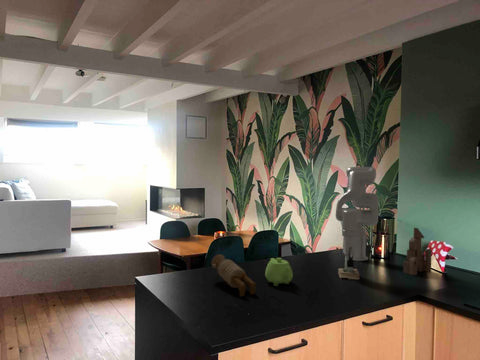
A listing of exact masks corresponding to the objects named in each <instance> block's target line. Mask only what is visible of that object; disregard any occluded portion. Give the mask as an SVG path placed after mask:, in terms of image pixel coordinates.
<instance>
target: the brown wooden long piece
mask: <svg viewBox="0 0 480 360" xmlns="http://www.w3.org/2000/svg"><path fill="white" fill-rule="evenodd" d="M210 264H211V266H212V268H213V269H216V270H217V274H218V276H219V277H220V278H222V279H223V284H224V285H229V287H231V288H235V289H236V288H237V289H238V290H239V297H240V298H241V297H242V298H243V297H245V296H246V295H245V294H246V287H248V288H249V295H250V296H251V295H255V294H256V285H257V283H256V282H255V281H253V280H252V279H251V278H250V277H249V276H248V275H247V274H246V272H245V270H244V269H243V268H241V267H240V266H239V265H238V264H236V263H235V262H234V261H233V260H231V259H227V258H226V259H225V256H224V255H223V254H216V255H214V256H213V257H212V259H211V263H210Z"/></svg>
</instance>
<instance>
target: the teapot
mask: <svg viewBox="0 0 480 360" xmlns="http://www.w3.org/2000/svg"><path fill="white" fill-rule="evenodd" d="M266 265H267V266H266V268H265V272H264V274H265V275H264V276H265V278H266V280H267V281H268V283H273V284H272V285H273V286H275V287H278V286H279V284H283V285H286V284H289V285H290V282H291V281H292V280H293V278H294V273H293V270H292V266H291V265H290V262H288V261H287V260H285V259H282V257H277V258H274V257H273V258H270V260H269V261H268V263H267V264H266Z"/></svg>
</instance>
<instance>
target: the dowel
mask: <svg viewBox="0 0 480 360" xmlns="http://www.w3.org/2000/svg"><path fill="white" fill-rule="evenodd" d="M344 255H345V254H344ZM347 259H348V255H345V262H344V268H345V272H353V269H354V266H353V267H347Z"/></svg>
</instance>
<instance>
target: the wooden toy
mask: <svg viewBox="0 0 480 360" xmlns="http://www.w3.org/2000/svg"><path fill="white" fill-rule="evenodd" d="M424 238H425V236H424V234H423V233H422V232H421V231H420V229H419V228H418V227H413V237H411V238H410V239H409V241H408V249H406V260H404V261H403V264H402V265H403V267H402V269H403V270H402V272H403V273H404V274H407V275H409V276H410V275H411V276H417V275H418V272H424V273H429V274H430V273H432V249H430V248H425V250H424V254H423V253H422V239H424Z"/></svg>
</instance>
